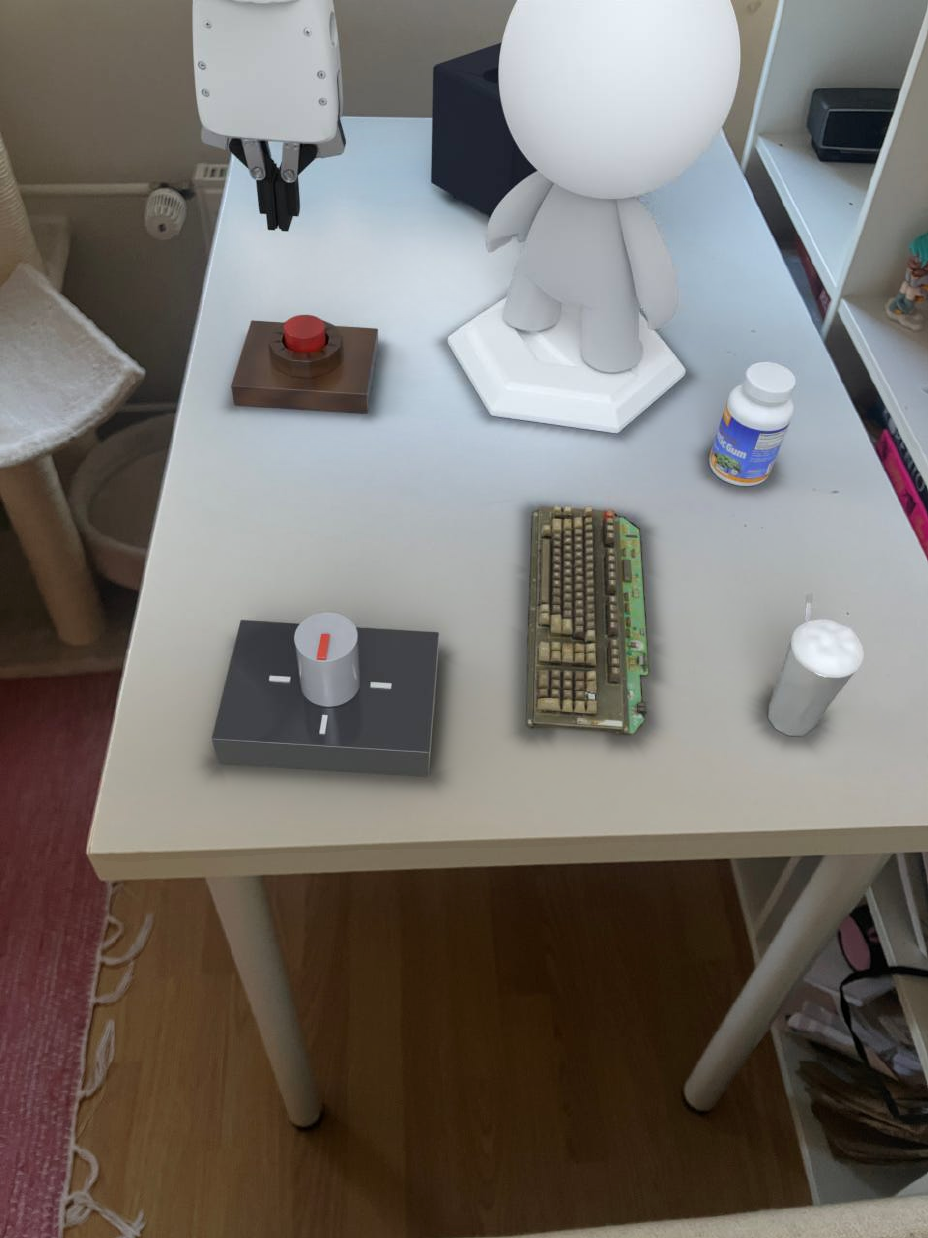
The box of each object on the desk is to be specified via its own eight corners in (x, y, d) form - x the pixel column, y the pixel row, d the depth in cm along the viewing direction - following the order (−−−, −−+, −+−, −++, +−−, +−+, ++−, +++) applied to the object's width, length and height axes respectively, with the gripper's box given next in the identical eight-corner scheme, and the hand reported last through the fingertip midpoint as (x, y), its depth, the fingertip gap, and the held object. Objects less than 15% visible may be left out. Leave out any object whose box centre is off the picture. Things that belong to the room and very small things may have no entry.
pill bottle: (696, 455, 88) (723, 363, 81) (746, 440, 90) (777, 349, 83) (731, 495, 85) (762, 403, 78) (782, 478, 87) (818, 387, 80)
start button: (282, 353, 89) (280, 336, 88) (288, 329, 92) (287, 312, 90) (323, 355, 89) (321, 339, 88) (328, 332, 92) (327, 315, 90)
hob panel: (217, 764, 66) (210, 737, 64) (245, 645, 73) (240, 617, 70) (428, 777, 67) (429, 751, 64) (438, 657, 73) (439, 630, 70)
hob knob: (305, 656, 69) (299, 606, 65) (363, 661, 69) (361, 611, 65) (295, 704, 66) (288, 655, 62) (356, 709, 66) (353, 660, 62)
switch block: (234, 405, 90) (228, 368, 87) (253, 339, 96) (248, 302, 93) (367, 413, 90) (366, 377, 87) (378, 347, 97) (377, 311, 93)
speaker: (557, 141, 126) (572, 9, 114) (635, 181, 120) (659, 46, 108) (428, 195, 116) (431, 56, 104) (507, 241, 110) (518, 99, 98)
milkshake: (793, 675, 73) (839, 585, 66) (835, 734, 70) (888, 646, 62) (739, 692, 72) (780, 602, 64) (780, 752, 69) (827, 665, 61)
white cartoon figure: (715, 349, 99) (831, -63, 72) (580, 466, 87) (659, 24, 60) (551, 272, 106) (601, -127, 79) (408, 369, 94) (409, -61, 68)
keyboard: (531, 510, 83) (534, 492, 82) (639, 519, 83) (644, 501, 82) (522, 728, 69) (525, 712, 68) (652, 740, 69) (658, 723, 68)
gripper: (377, -51, 69) (378, 206, 83) (158, -69, 68) (197, 192, 82) (365, -13, 64) (369, 254, 78) (130, -32, 64) (176, 239, 78)
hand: (280, 221), depth 80 cm, fingers closed
